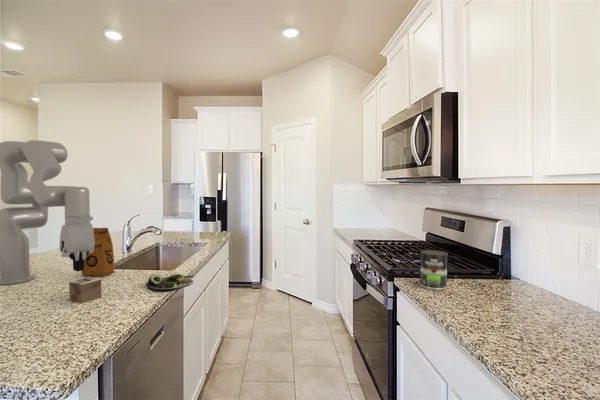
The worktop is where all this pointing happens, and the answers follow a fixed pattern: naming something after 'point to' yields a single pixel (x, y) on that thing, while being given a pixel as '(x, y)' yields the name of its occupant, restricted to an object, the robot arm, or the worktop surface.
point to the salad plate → (168, 282)
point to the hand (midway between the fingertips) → (78, 270)
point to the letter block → (85, 289)
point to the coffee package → (100, 255)
